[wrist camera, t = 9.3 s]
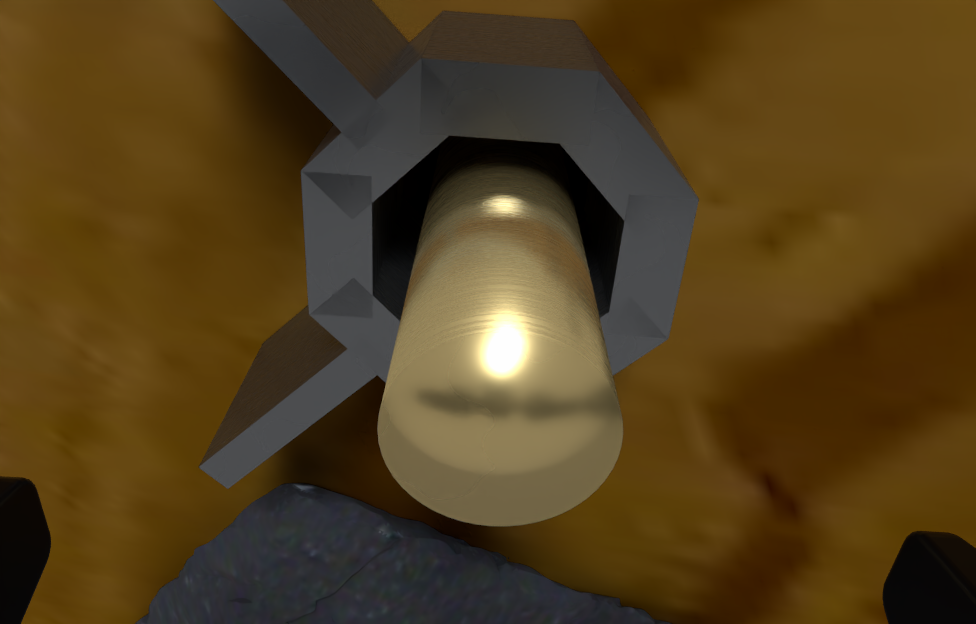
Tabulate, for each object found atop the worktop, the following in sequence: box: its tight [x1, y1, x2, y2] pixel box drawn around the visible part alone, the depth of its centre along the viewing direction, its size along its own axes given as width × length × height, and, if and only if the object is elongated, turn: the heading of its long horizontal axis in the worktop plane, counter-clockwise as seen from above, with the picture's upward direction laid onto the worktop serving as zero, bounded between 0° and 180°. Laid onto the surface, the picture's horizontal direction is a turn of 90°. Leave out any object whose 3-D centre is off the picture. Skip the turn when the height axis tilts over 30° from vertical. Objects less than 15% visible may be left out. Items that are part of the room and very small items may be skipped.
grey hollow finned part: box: [199, 0, 699, 489], centre depth 16 cm, size 11×11×5 cm
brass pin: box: [377, 135, 623, 526], centre depth 14 cm, size 3×3×10 cm
